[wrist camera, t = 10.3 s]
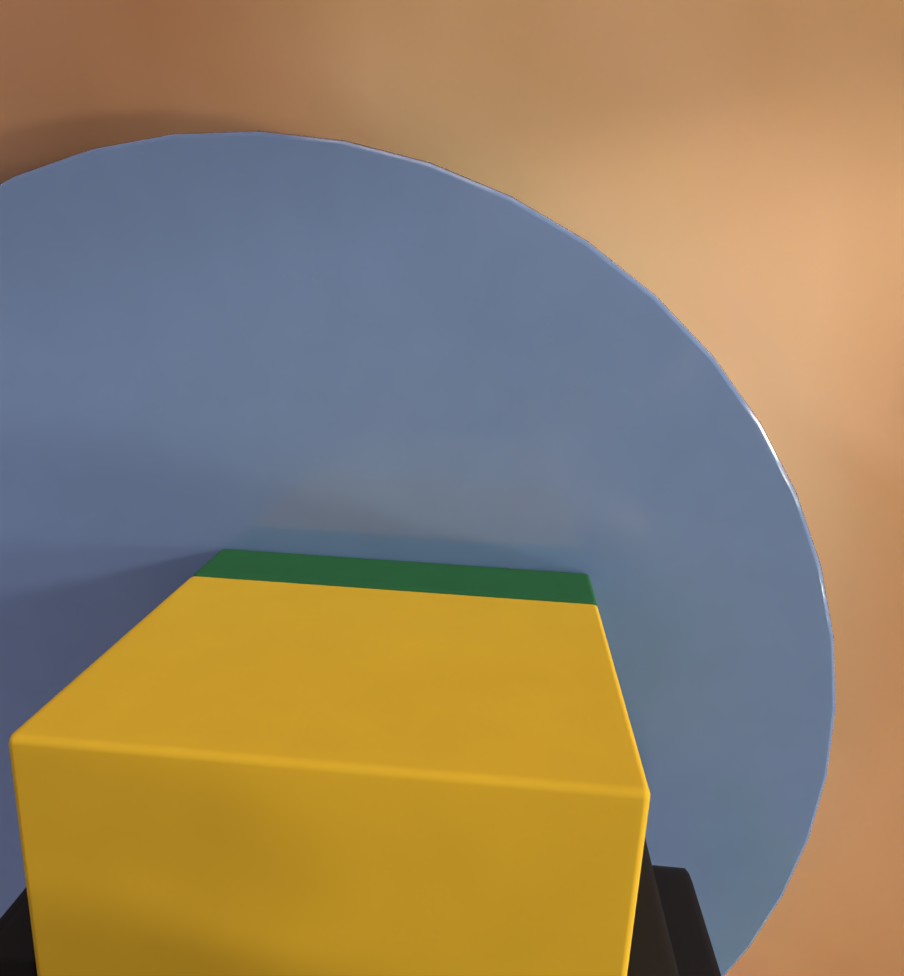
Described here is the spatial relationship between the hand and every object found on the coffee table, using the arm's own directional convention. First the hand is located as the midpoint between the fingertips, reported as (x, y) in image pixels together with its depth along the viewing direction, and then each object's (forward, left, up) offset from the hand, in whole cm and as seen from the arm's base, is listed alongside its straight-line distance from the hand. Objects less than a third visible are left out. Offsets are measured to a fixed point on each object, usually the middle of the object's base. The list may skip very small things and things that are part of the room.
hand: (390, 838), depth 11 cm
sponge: (0, 0, 0) cm, 0 cm away
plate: (-1, -2, -2) cm, 3 cm away
